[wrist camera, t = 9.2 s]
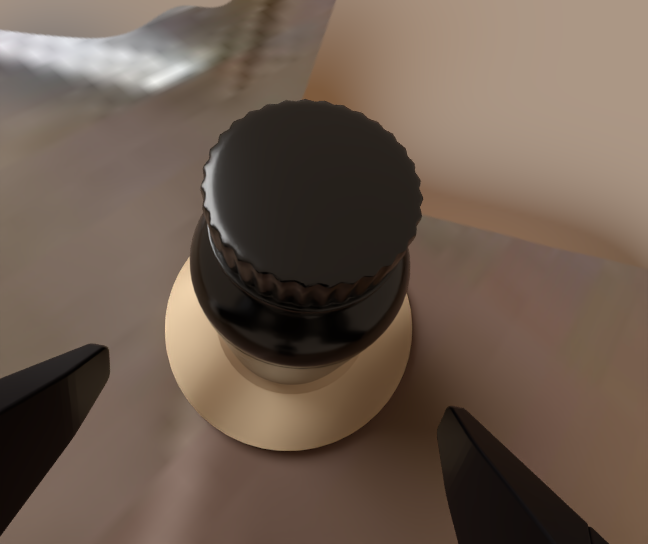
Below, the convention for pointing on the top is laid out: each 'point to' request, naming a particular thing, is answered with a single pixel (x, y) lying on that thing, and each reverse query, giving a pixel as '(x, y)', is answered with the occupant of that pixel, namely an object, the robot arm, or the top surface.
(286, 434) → the beige round plate
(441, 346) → the top surface
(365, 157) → the supplement bottle
